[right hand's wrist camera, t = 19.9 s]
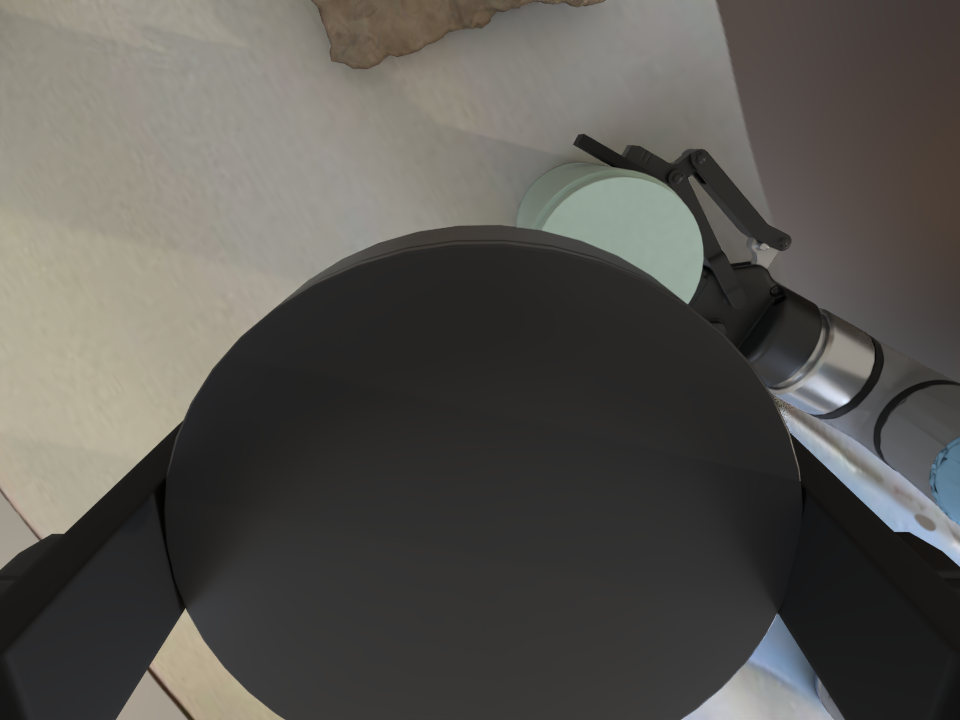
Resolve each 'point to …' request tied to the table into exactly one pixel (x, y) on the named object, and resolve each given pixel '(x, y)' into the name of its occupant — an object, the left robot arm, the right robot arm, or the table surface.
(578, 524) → the lid
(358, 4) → the stone
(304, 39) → the table surface
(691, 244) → the jar
